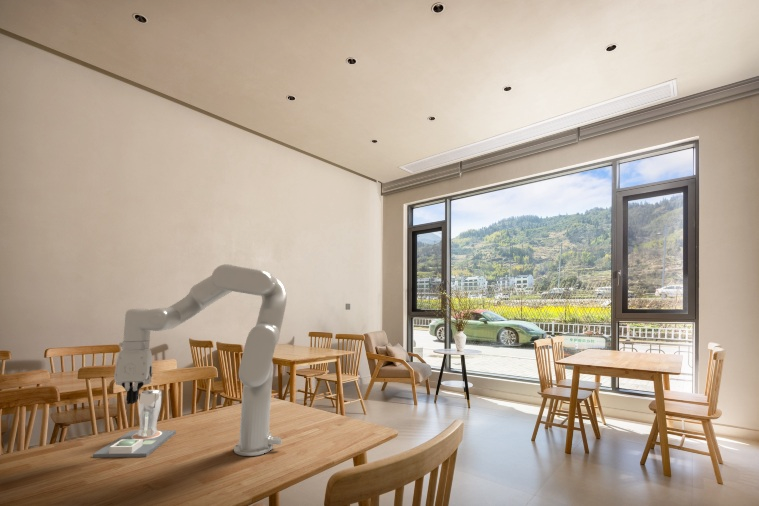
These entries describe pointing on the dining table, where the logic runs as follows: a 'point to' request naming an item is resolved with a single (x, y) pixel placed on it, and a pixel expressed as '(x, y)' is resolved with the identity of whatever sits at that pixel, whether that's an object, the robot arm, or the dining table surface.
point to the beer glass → (149, 412)
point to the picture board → (135, 445)
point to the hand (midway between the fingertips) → (132, 402)
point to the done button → (127, 442)
